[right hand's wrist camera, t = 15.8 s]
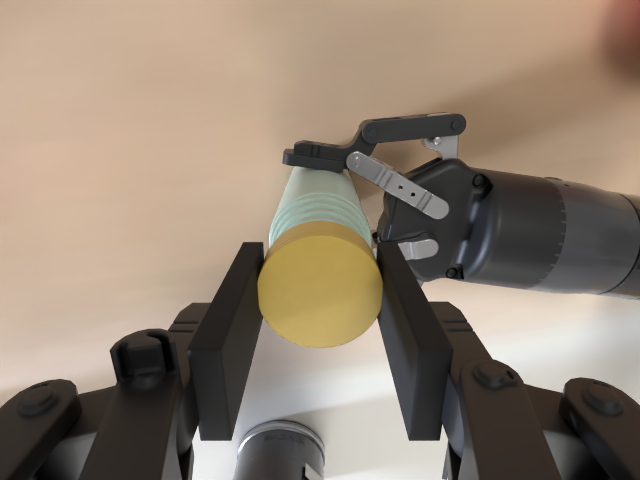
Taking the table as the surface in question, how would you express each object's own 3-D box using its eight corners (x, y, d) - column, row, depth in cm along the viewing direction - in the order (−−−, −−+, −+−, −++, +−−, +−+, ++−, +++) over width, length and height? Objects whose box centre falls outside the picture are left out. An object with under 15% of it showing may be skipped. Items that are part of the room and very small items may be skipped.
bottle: (292, 149, 29) (256, 217, 13) (354, 156, 30) (399, 232, 13) (287, 208, 31) (249, 338, 14) (346, 215, 31) (376, 350, 15)
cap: (263, 320, 15) (256, 346, 14) (262, 217, 14) (255, 232, 12) (371, 325, 16) (377, 351, 14) (383, 222, 14) (391, 238, 12)
